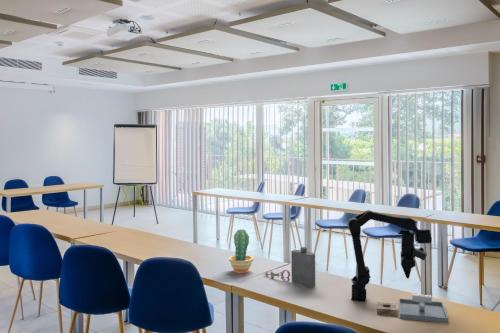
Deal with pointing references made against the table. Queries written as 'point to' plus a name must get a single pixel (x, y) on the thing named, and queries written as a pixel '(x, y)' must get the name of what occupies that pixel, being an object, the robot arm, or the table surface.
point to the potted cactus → (241, 253)
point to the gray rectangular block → (422, 300)
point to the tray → (432, 312)
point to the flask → (303, 267)
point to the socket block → (386, 308)
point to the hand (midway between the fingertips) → (407, 275)
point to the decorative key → (279, 275)
